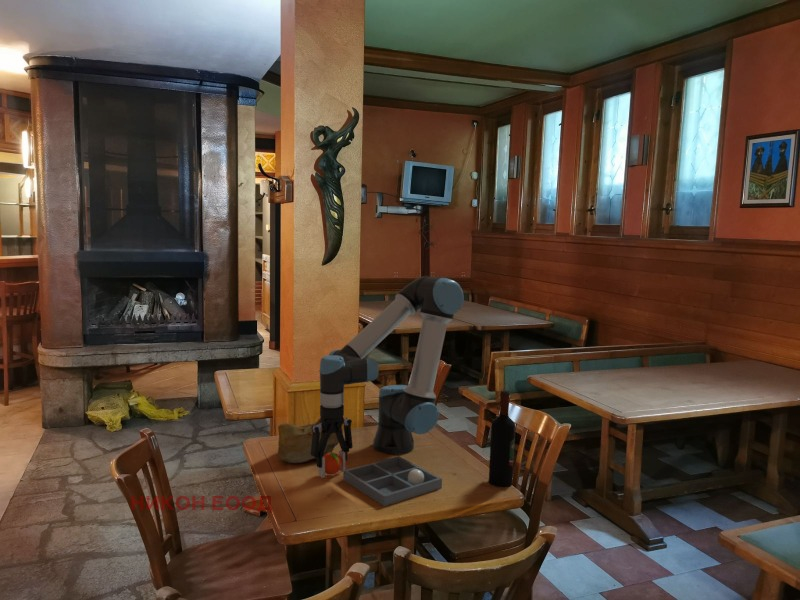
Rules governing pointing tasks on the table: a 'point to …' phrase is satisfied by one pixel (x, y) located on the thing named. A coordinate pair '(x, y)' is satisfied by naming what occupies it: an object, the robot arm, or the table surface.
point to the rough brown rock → (300, 442)
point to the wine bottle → (502, 446)
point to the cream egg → (415, 477)
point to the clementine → (332, 463)
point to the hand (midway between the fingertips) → (332, 473)
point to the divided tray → (390, 480)
